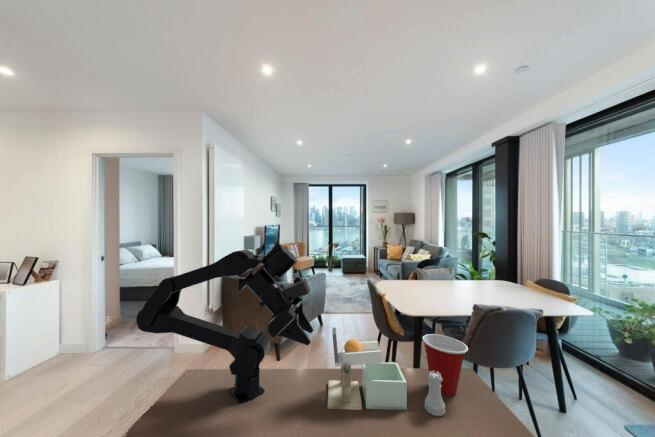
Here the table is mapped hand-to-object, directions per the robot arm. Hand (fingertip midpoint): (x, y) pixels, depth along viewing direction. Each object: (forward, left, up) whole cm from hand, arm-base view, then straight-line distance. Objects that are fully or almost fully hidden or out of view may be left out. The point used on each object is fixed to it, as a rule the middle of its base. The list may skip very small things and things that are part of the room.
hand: (310, 337), depth 65 cm
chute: (+8, +8, -5) cm, 12 cm away
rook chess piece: (+23, +17, -14) cm, 32 cm away
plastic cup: (+21, +27, -14) cm, 37 cm away
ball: (+7, +7, -2) cm, 11 cm away
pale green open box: (+12, +12, -13) cm, 22 cm away
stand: (+6, +6, -13) cm, 16 cm away
